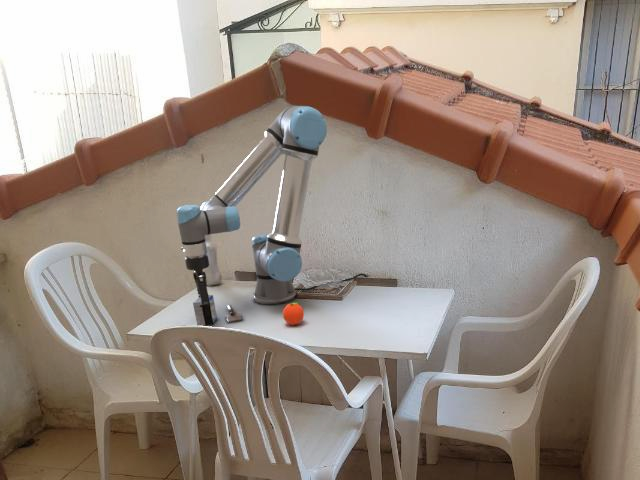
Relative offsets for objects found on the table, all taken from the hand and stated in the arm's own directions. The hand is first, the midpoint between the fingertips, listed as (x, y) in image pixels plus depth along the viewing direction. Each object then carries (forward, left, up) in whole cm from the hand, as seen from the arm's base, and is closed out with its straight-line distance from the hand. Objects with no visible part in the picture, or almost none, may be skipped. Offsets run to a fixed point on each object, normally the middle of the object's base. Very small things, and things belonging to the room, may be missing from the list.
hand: (207, 319), depth 235 cm
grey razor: (-9, -4, -1) cm, 10 cm away
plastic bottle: (-7, -47, -2) cm, 47 cm away
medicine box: (0, 0, -2) cm, 2 cm away
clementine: (-27, +15, -2) cm, 31 cm away
